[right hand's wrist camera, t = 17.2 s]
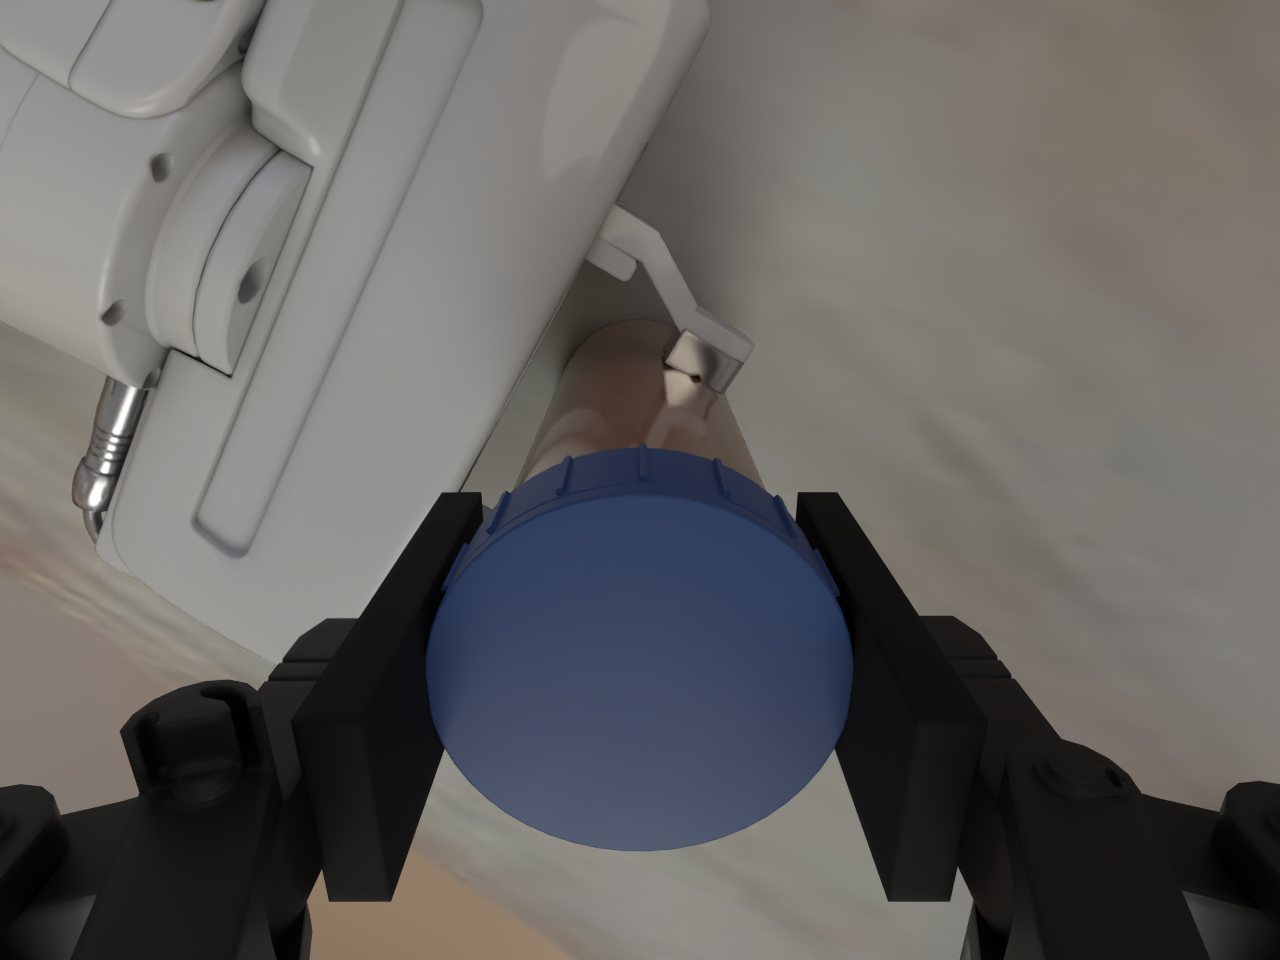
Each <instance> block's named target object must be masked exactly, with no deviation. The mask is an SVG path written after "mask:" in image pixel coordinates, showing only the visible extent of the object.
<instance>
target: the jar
mask: <svg viewBox="0 0 1280 960" xmlns="http://www.w3.org/2000/svg"><path fill="white" fill-rule="evenodd" d="M674 329H675V327H673V326H671V325H668V324H666V323H663V322H659V321H655V320H647V319H632V320H625V321H620V322H617V323H613V324H610V325H608V326H606V327H604V328H601V329H600V330H598V331H596V332H595V333H593V334H592V335H591V336H589V337H588V338H587V339H586V340H584V341H583V343H582V344H581V345H580V346H579V347H578V348H577V349H576V351H575V352H574V353H573V355H572V356H571V358H570V360H569V362H568V363H567V365H566V368H565V370H564V372H563V375H562V377H561V379H560V382H559V384H558V386H557V389H556V391H555V393H554V396H553V398H552V400H551V403H550V405H549V407H548V410H547V412H546V414H545V417H544V419H543V421H542V424H541V426H540V428H539V431H538V433H537V435H536V438H535V440H534V442H533V445H532V447H531V449H530V452H529V454H528V456H527V459H526V461H525V463H524V466H523V468H522V470H521V473H520V475H519V477H518V480H517V482H516V484H515V487H514V489H513V490H515V489H516V488H517V487H519V486H520V485H522V484H523V483H524V482H526V481H527V480H529V479H530V478H531V477H533V476H535V475H537V474H539V473H541V472H543V471H545V470H546V469H548V468H550V467H552V466H554V465H557V464H559V463H562V462H563V460H564V457H566V456H569V455H571V457H572V459H573V458H575V457H578V456H582V455H586V454H591V453H595V452H599V451H603V450H612V449H622V448H639V444H647V448H660V449H667V450H674V451H681V452H685V453H689V454H693V455H696V456H700V457H704V458H707V459H710V460H712V461H713V460H714V458H715V457H716V458H719V459H721V461H722V464H723V465H724V466H727V467H729V468H731V469H733V470H735V471H737V472H739V473H740V474H742V475H744V476H745V477H747V478H749V479H751V480H752V481H754V482H755V483H756V484H758V485H759V486H760V487H762V488H763V489H764V490H765V491H766V489H765V487H764V484H763V482H762V480H761V477H760V475H759V473H758V470H757V468H756V466H755V463H754V461H753V459H752V456H751V454H750V452H749V449H748V447H747V445H746V442H745V440H744V438H743V435H742V433H741V431H740V428H739V426H738V424H737V421H736V419H735V417H734V414H733V412H732V410H731V407H730V405H729V403H728V400H727V398H726V396H725V393H724V394H718V393H716V392H714V391H712V390H711V389H710V388H708V387H707V386H706V385H704V384H703V383H702V382H701V380H700V377H699V375H694V376H689V375H688V374H685V373H683V372H680V371H678V370H677V369H675V368H673V367H672V366H670V365H668V364H667V363H665V359H664V356H665V354H664V353H663V348H664V346H665V344H666V342H667V341H668V339H669V337H670V336H671V334H672V332H673V330H674Z"/></svg>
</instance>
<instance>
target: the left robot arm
mask: <svg viewBox="0 0 1280 960" xmlns="http://www.w3.org/2000/svg"><path fill="white" fill-rule="evenodd" d="M710 24H711V9H710V4H709V0H0V321H1V322H3V323H5V324H7V325H9V326H11V327H13V328H15V329H17V330H19V331H21V332H23V333H25V334H27V335H29V336H31V337H33V338H35V339H36V340H38V341H40V342H42V343H44V344H46V345H48V346H50V347H52V348H54V349H56V350H58V351H60V352H62V353H64V354H66V355H68V356H70V357H72V358H74V359H76V360H78V361H80V362H82V363H84V364H86V365H88V366H90V367H92V368H94V369H96V370H98V371H100V372H102V373H104V374H106V375H107V378H106V380H105V384H104V387H103V390H102V393H101V396H100V399H99V402H98V405H97V409H96V414H95V418H94V425H93V432H92V437H91V441H90V445H89V448H88V451H87V453H86V456H84V457H83V458H82V459H81V461H80V463H79V465H78V467H77V469H76V472H75V475H74V479H73V483H72V501H73V503H74V504H75V505H76V506H78V507H79V508H81V509H83V517H84V522H85V525H86V528H87V531H88V533H89V535H90V537H91V539H92V541H93V542H94V544H95V551H96V553H97V555H98V556H99V557H100V558H101V559H102V560H104V561H105V562H106V563H108V564H109V565H110V566H112V567H114V568H115V569H117V570H119V571H121V572H123V573H126V574H128V575H130V576H132V577H134V578H137V579H138V580H139V581H141V582H142V583H143V584H144V585H145V586H147V587H148V588H149V589H150V590H152V591H153V592H155V593H156V594H157V595H159V596H160V597H162V598H163V599H164V600H166V601H167V602H169V603H170V604H172V605H173V606H175V607H176V608H178V609H180V610H181V611H183V612H184V613H186V614H187V615H189V616H191V617H192V618H194V619H195V620H197V621H199V622H200V623H202V624H204V625H205V626H207V627H209V628H210V629H212V630H214V631H215V632H217V633H219V634H220V635H222V636H224V637H225V638H227V639H229V640H230V641H232V642H234V643H236V644H237V645H239V646H241V647H243V648H244V649H246V650H248V651H250V652H252V653H254V654H255V655H257V656H259V657H261V658H263V659H265V660H267V661H268V662H270V663H272V664H274V665H276V666H277V665H278V664H279V663H282V661H283V660H282V659H283V657H284V656H285V655H286V653H287V652H288V651H289V649H290V648H291V647H292V645H293V644H294V643H295V642H296V640H297V639H298V638H299V637H300V636H301V635H303V634H304V633H306V632H307V631H309V630H310V629H311V628H313V627H314V626H316V625H317V624H319V623H320V622H322V621H323V620H325V619H326V618H359V617H360V615H361V614H362V612H363V611H364V609H365V608H366V606H367V605H368V603H369V602H370V600H371V599H372V597H373V596H374V594H375V593H376V591H377V590H378V588H379V586H380V585H381V583H382V582H383V580H384V579H385V577H386V576H387V574H388V573H389V571H390V570H391V568H392V567H393V565H394V564H395V562H396V561H397V559H398V558H399V556H400V555H401V553H402V552H403V550H404V549H405V547H406V546H407V544H408V543H409V541H410V540H411V538H412V537H413V535H414V534H415V532H416V531H417V529H418V528H419V526H420V525H421V523H422V522H423V520H424V519H425V517H426V516H427V514H428V512H429V511H430V509H431V508H432V506H433V505H434V503H435V502H436V500H437V499H438V497H439V496H440V494H441V493H442V492H460V491H461V490H462V488H463V486H464V484H465V482H466V480H467V478H468V477H469V475H470V473H471V471H472V469H473V467H474V466H475V464H476V462H477V460H478V458H479V456H480V454H481V453H482V451H483V449H484V447H485V445H486V443H487V442H488V440H489V438H490V436H491V434H492V432H493V430H494V429H495V427H496V425H497V423H498V421H499V419H500V418H501V416H502V414H503V412H504V410H505V408H506V406H507V405H508V403H509V401H510V399H511V397H512V395H513V394H514V392H515V390H516V388H517V386H518V384H519V382H520V381H521V379H522V377H523V375H524V373H525V371H526V370H527V368H528V366H529V364H530V362H531V360H532V358H533V357H534V355H535V353H536V351H537V349H538V347H539V346H540V344H541V342H542V340H543V338H544V336H545V334H546V333H547V331H548V329H549V327H550V325H551V323H552V322H553V320H554V318H555V316H556V314H557V312H558V310H559V309H560V307H561V305H562V303H563V301H564V299H565V298H566V296H567V294H568V292H569V290H570V288H571V286H572V285H573V283H574V281H575V279H576V277H577V275H578V274H579V272H580V270H581V268H582V266H583V264H584V262H585V261H586V260H587V261H589V262H590V263H592V264H594V265H595V266H597V267H599V268H600V269H602V270H604V271H606V272H607V273H609V274H611V275H612V276H614V277H616V278H617V279H619V280H621V281H622V282H625V281H628V280H630V279H631V277H632V275H633V273H634V272H635V270H636V268H637V261H639V262H641V263H642V265H643V267H644V268H645V270H646V272H647V274H648V276H649V277H650V279H651V281H652V283H653V285H654V286H655V288H656V290H657V292H658V294H659V295H660V297H661V299H662V301H663V303H664V304H665V306H666V308H667V310H668V312H669V314H670V315H671V317H672V319H673V321H674V323H675V324H676V327H675V329H674V330H673V332H672V334H671V336H670V337H669V339H668V341H667V342H666V344H665V346H664V348H663V353H664V354H665V356H664V359H665V363H667V364H668V365H670V366H672V367H673V368H675V369H677V370H678V371H680V372H683V373H685V374H688V375H689V376H694V375H699V377H700V380H701V382H702V383H703V384H704V385H706V386H707V387H708V388H710V389H711V390H712V391H714V392H716V393H718V394H724V393H725V391H726V390H727V388H728V387H729V385H730V384H731V382H732V381H733V379H734V378H735V376H736V375H737V373H738V372H739V370H740V369H741V367H742V366H743V364H744V362H745V361H746V359H747V358H748V356H749V355H750V353H751V352H752V350H753V349H754V347H755V345H754V344H753V343H752V341H751V340H750V339H749V338H748V337H747V336H745V335H744V334H743V333H741V332H740V331H739V330H737V329H736V328H734V327H733V326H731V325H729V324H728V323H726V322H724V321H723V320H721V319H720V318H718V317H716V316H715V315H713V314H711V313H710V312H708V311H707V310H705V309H703V308H702V307H700V306H698V305H697V303H696V301H695V299H694V297H693V296H692V294H691V292H690V290H689V288H688V286H687V284H686V282H685V281H684V279H683V277H682V275H681V273H680V271H679V269H678V267H677V266H676V264H675V262H674V260H673V258H672V256H671V254H670V252H669V251H668V249H667V247H666V245H665V243H664V241H663V239H662V237H661V236H660V234H659V232H658V230H657V228H656V227H654V226H653V225H651V224H649V223H648V222H646V221H645V220H643V219H642V218H640V217H638V216H637V215H635V214H634V213H632V212H630V211H629V210H627V209H626V208H624V207H622V206H621V205H619V204H618V203H617V201H618V200H619V198H620V196H621V194H622V192H623V190H624V189H625V187H626V185H627V183H628V181H629V179H630V177H631V176H632V174H633V172H634V170H635V168H636V166H637V165H638V163H639V161H640V159H641V157H642V155H643V153H644V152H645V150H646V148H647V146H648V144H649V142H650V141H651V139H652V137H653V135H654V133H655V131H656V129H657V128H658V126H659V124H660V122H661V120H662V118H663V117H664V115H665V113H666V111H667V109H668V107H669V105H670V104H671V102H672V100H673V98H674V96H675V94H676V92H677V91H678V89H679V87H680V85H681V83H682V81H683V79H684V78H685V76H686V74H687V72H688V70H689V68H690V67H691V65H692V63H693V61H694V59H695V57H696V55H697V54H698V52H699V50H700V48H701V46H702V44H703V42H704V40H705V38H706V37H707V33H708V30H709V27H710ZM482 508H483V519H484V520H485V519H486V518H487V517H488V515H489V514H490V513H491V512H492V509H490V508H488V507H486V506H485V505H483V504H482ZM103 511H107V513H106V516H105V518H104V521H102V516H101V512H103Z"/></svg>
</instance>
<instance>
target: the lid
mask: <svg viewBox="0 0 1280 960" xmlns="http://www.w3.org/2000/svg"><path fill="white" fill-rule="evenodd" d="M441 590H443V591H445V592H446V594H445V595H444V597H443V599H442V601H441V603H440V606H439V608H438V611H437V613H436V616H435V619H434V621H433V624H432V626H431V629H430V634H429V639H428V643H427V648H426V655H425V668H426V677H427V685H428V693H429V701H430V708H431V715H432V720H433V723H434V726H435V728H436V730H437V733H438V735H439V737H440V740H441V742H442V744H443V746H444V747H445V749H446V751H447V752H448V754H449V756H450V757H451V759H452V761H453V762H454V764H455V765H456V766H457V767H458V769H459V770H460V771H461V772H462V774H463V775H464V776H465V777H466V778H467V780H468V781H469V782H470V783H471V784H472V785H473V786H474V787H475V788H476V789H477V790H478V791H479V792H480V793H482V794H483V795H484V796H485V797H486V798H487V799H488V800H490V801H491V802H492V803H494V804H495V805H496V806H498V807H499V808H500V809H502V810H503V811H504V812H506V813H507V814H509V815H511V816H512V817H514V818H516V819H518V820H519V821H521V822H523V823H524V824H526V825H528V826H530V827H533V828H535V829H537V830H539V831H542V832H544V833H546V834H548V835H551V836H554V837H557V838H560V839H563V840H567V841H570V842H573V843H577V844H582V845H586V846H591V847H596V848H602V849H611V850H620V851H657V850H668V849H677V848H682V847H687V846H693V845H698V844H702V843H705V842H709V841H712V840H716V839H719V838H722V837H725V836H727V835H730V834H732V833H735V832H737V831H740V830H742V829H745V828H747V827H748V826H750V825H752V824H754V823H756V822H758V821H760V820H761V819H763V818H765V817H767V816H768V815H770V814H771V813H773V812H774V811H776V810H777V809H779V808H780V807H781V806H783V805H784V804H786V803H787V802H788V801H789V800H791V799H792V798H793V797H794V796H795V795H796V794H797V793H798V792H800V791H801V790H802V789H803V788H804V787H805V786H806V785H807V784H808V783H809V782H810V780H811V779H812V778H813V777H814V776H815V775H816V774H817V772H818V771H819V770H820V769H821V768H822V766H823V765H824V763H825V762H826V760H827V759H828V757H829V756H830V754H831V753H832V751H833V750H834V748H835V745H836V743H837V741H838V739H839V737H840V735H841V733H842V731H843V729H844V726H845V723H846V720H847V715H848V708H849V701H850V693H851V685H852V677H853V668H854V654H853V648H852V642H851V636H850V633H849V630H848V627H847V624H846V621H845V618H844V615H843V612H842V610H841V608H840V606H839V604H838V602H837V600H836V597H838V596H840V592H839V590H838V588H837V586H836V584H835V582H834V580H833V578H832V576H831V574H830V572H829V570H828V568H827V566H826V564H825V562H824V560H823V558H822V556H821V554H820V552H819V550H818V549H814V550H812V548H811V546H810V545H809V543H808V541H807V539H806V537H805V535H804V533H803V531H802V530H801V529H800V527H799V526H798V524H797V523H796V522H795V520H794V519H793V518H792V516H791V515H790V513H789V512H788V511H787V509H786V506H785V504H784V502H783V500H782V498H781V497H780V496H779V495H776V496H775V497H773V496H772V495H771V494H769V493H768V492H767V491H765V490H764V489H763V488H762V487H760V486H759V485H758V484H756V483H755V482H754V481H752V480H751V479H749V478H747V477H745V476H744V475H742V474H740V473H739V472H737V471H735V470H733V469H731V468H729V467H727V466H724V465H723V464H722V461H721V459H719V458H716V457H715V458H714V460H713V461H712V460H710V459H707V458H704V457H700V456H696V455H693V454H689V453H685V452H681V451H674V450H667V449H660V448H647V444H639V448H622V449H612V450H603V451H599V452H595V453H591V454H586V455H582V456H578V457H575V458H573V459H572V457H571V455H569V456H566V457H564V460H563V462H562V463H559V464H557V465H554V466H552V467H550V468H548V469H546V470H545V471H543V472H541V473H539V474H537V475H535V476H533V477H531V478H530V479H529V480H527V481H526V482H524V483H523V484H522V485H520V486H519V487H517V488H516V489H515V490H513V491H512V492H511V493H509V492H508V491H505V492H504V493H503V494H502V495H501V498H500V500H499V502H498V504H497V506H496V507H495V508H494V509H493V510H492V512H491V513H490V514H489V515H488V517H487V518H486V519H485V520H484V522H483V523H482V524H481V525H480V527H479V529H478V530H477V532H476V534H475V535H474V537H473V539H472V541H471V542H470V544H469V545H468V544H465V543H464V544H463V546H462V548H461V550H460V552H459V554H458V556H457V558H456V560H455V562H454V564H453V566H452V568H451V570H450V572H449V574H448V576H447V578H446V580H445V582H444V584H443V586H442V588H441Z"/></svg>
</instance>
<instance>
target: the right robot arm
mask: <svg viewBox="0 0 1280 960" xmlns="http://www.w3.org/2000/svg"><path fill="white" fill-rule="evenodd" d="M483 522H484V519H483V508H482V496H481V492H442V493H441V494H440V496H439V497H438V499H437V500H436V502H435V503H434V505H433V506H432V508H431V509H430V511H429V512H428V514H427V516H426V517H425V519H424V520H423V522H422V523H421V525H420V526H419V528H418V529H417V531H416V532H415V534H414V535H413V537H412V538H411V540H410V541H409V543H408V544H407V546H406V547H405V549H404V550H403V552H402V553H401V555H400V556H399V558H398V559H397V561H396V562H395V564H394V565H393V567H392V568H391V570H390V571H389V573H388V574H387V576H386V577H385V579H384V580H383V582H382V583H381V585H380V586H379V588H378V590H377V591H376V593H375V594H374V596H373V597H372V599H371V600H370V602H369V603H368V605H367V606H366V608H365V609H364V611H363V612H362V614H361V615H360V617H359V618H326V619H325V620H323V621H322V622H320V623H319V624H317V625H316V626H314V627H313V628H311V629H310V630H309V631H307V632H306V633H304V634H303V635H301V636H300V637H299V638H298V639H297V640H296V642H295V643H294V644H293V645H292V647H291V648H290V649H289V651H288V652H287V653H286V655H285V656H284V657H283V659H282V660H283V661H282V663H279V664H278V665H277V666H276V668H275V669H274V670H273V672H272V673H271V674H270V675H269V679H268V681H265V682H264V683H263V685H262V686H261V687H260V688H259V690H258V691H256V690H255V689H254V688H253V687H251V686H250V685H249V684H248V683H243V682H238V681H234V680H216V681H204V682H200V683H197V684H193V685H189V686H185V687H181V688H178V689H176V690H174V691H172V692H170V693H167V694H165V695H163V696H161V697H159V698H156V699H154V700H153V701H151V702H150V703H148V704H147V705H146V706H144V707H143V708H141V709H140V710H139V711H137V712H136V713H134V714H133V715H132V716H131V717H130V719H129V720H128V721H127V722H126V724H125V725H124V726H123V727H122V729H121V730H120V734H121V737H122V740H123V743H124V746H125V749H126V752H127V755H128V759H129V762H130V765H131V768H132V771H133V774H134V777H135V780H136V783H137V787H138V790H139V795H138V797H135V798H132V799H128V800H125V801H121V802H117V803H112V804H108V805H104V806H99V807H95V808H91V809H86V810H82V811H77V812H73V813H69V814H64V815H61V814H60V812H59V809H58V807H57V804H56V801H55V799H54V796H53V795H52V794H51V793H49V792H48V791H47V790H45V789H44V788H43V787H41V786H32V785H23V784H19V785H13V786H7V787H2V788H0V960H309V958H310V948H311V938H312V926H311V919H310V913H309V909H308V904H307V899H308V897H309V895H310V893H311V891H312V889H313V887H314V884H315V882H316V880H317V878H318V876H319V874H320V872H321V870H322V871H323V875H324V880H325V885H326V889H327V894H328V899H329V901H330V902H378V901H379V902H383V901H384V902H386V901H387V902H390V901H391V900H392V897H393V894H394V891H395V889H396V886H397V883H398V880H399V877H400V874H401V871H402V869H403V866H404V863H405V860H406V857H407V854H408V852H409V849H410V846H411V843H412V840H413V837H414V834H415V832H416V829H417V826H418V823H419V820H420V817H421V815H422V812H423V809H424V806H425V803H426V800H427V797H428V795H429V792H430V789H431V786H432V783H433V780H434V777H435V775H436V772H437V769H438V766H439V763H440V760H441V758H442V755H443V752H444V749H445V747H444V746H443V744H442V742H441V740H440V737H439V735H438V733H437V730H436V728H435V726H434V723H433V720H432V715H431V708H430V701H429V693H428V685H427V677H426V668H425V655H426V648H427V643H428V639H429V634H430V629H431V626H432V624H433V621H434V619H435V616H436V613H437V611H438V608H439V606H440V603H441V601H442V599H443V597H444V595H445V594H446V592H445V591H443V590H441V588H442V586H443V584H444V582H445V580H446V578H447V576H448V574H449V572H450V570H451V568H452V566H453V564H454V562H455V560H456V558H457V556H458V554H459V552H460V550H461V548H462V546H463V544H464V543H465V544H468V545H469V544H470V542H471V541H472V539H473V537H474V535H475V534H476V532H477V530H478V529H479V527H480V525H481V524H482V523H483ZM796 523H797V524H798V526H799V527H800V529H801V530H802V531H803V533H804V535H805V537H806V539H807V541H808V543H809V545H810V546H811V548H812V550H814V549H818V550H819V552H820V554H821V556H822V558H823V560H824V562H825V564H826V566H827V568H828V570H829V572H830V574H831V576H832V578H833V580H834V582H835V584H836V586H837V588H838V590H839V592H840V596H838V597H836V600H837V602H838V604H839V606H840V608H841V610H842V612H843V615H844V618H845V621H846V624H847V627H848V630H849V633H850V636H851V642H852V648H853V654H854V668H853V677H852V685H851V693H850V701H849V708H848V715H847V720H846V723H845V726H844V729H843V731H842V733H841V735H840V737H839V739H838V741H837V743H836V745H835V751H836V754H837V757H838V760H839V763H840V765H841V768H842V771H843V774H844V777H845V780H846V782H847V785H848V788H849V791H850V794H851V797H852V800H853V802H854V805H855V808H856V811H857V814H858V817H859V820H860V822H861V825H862V828H863V831H864V834H865V837H866V840H867V842H868V845H869V848H870V851H871V854H872V857H873V859H874V862H875V865H876V868H877V871H878V874H879V877H880V879H881V882H882V885H883V888H884V891H885V894H886V897H887V899H888V902H950V900H951V895H952V890H953V886H954V881H955V876H956V872H957V867H958V868H959V870H960V872H961V874H962V876H963V878H964V880H965V882H966V885H967V887H968V889H969V891H970V893H971V895H972V897H973V899H974V900H973V904H972V909H971V913H970V917H969V922H968V926H967V930H966V935H965V939H964V943H963V948H962V952H961V957H960V960H1280V784H1275V783H1269V782H1263V781H1254V782H1245V783H1238V784H1237V785H1236V786H1234V787H1233V788H1232V789H1230V790H1229V791H1228V792H1227V793H1226V796H1225V798H1224V801H1223V804H1222V806H1221V809H1220V812H1217V811H1212V810H1208V809H1203V808H1199V807H1195V806H1190V805H1186V804H1181V803H1177V802H1172V801H1168V800H1164V799H1159V798H1155V797H1152V796H1148V795H1145V794H1142V793H1141V792H1140V790H1139V789H1138V787H1137V786H1136V785H1135V783H1134V782H1133V780H1132V779H1131V777H1130V776H1129V774H1127V773H1126V772H1125V771H1124V770H1122V769H1121V768H1120V767H1119V766H1118V765H1116V764H1115V763H1114V762H1113V761H1111V760H1110V759H1109V758H1107V757H1105V756H1103V755H1101V754H1099V753H1097V752H1095V751H1094V750H1092V749H1090V748H1088V747H1086V746H1083V745H1080V744H1076V743H1073V742H1070V741H1066V740H1063V739H1061V738H1060V737H1059V735H1058V734H1057V733H1056V731H1055V730H1054V729H1053V728H1052V726H1051V725H1050V724H1049V722H1048V721H1047V720H1046V719H1045V717H1044V716H1043V715H1042V713H1041V712H1040V711H1039V709H1038V708H1037V707H1036V706H1035V704H1034V703H1033V702H1032V700H1031V699H1030V698H1029V697H1028V695H1027V694H1026V693H1025V691H1024V690H1023V689H1022V687H1021V686H1020V685H1019V684H1018V682H1017V681H1016V680H1015V679H1012V678H1011V673H1010V672H1009V671H1008V669H1007V668H1006V667H1005V665H1004V664H1003V663H1002V662H1001V660H997V655H996V654H995V653H994V651H993V650H992V649H991V647H990V646H989V645H988V644H987V642H986V641H985V640H984V638H983V637H982V636H981V634H979V633H978V632H976V631H975V630H973V629H972V628H970V627H969V626H967V625H966V624H964V623H963V622H961V621H960V620H958V619H957V618H955V617H954V616H919V615H918V613H917V612H916V610H915V609H914V607H913V606H912V604H911V603H910V601H909V600H908V598H907V597H906V595H905V594H904V592H903V591H902V589H901V588H900V586H899V585H898V583H897V582H896V580H895V579H894V577H893V576H892V574H891V573H890V571H889V570H888V568H887V567H886V565H885V564H884V562H883V561H882V559H881V558H880V556H879V555H878V553H877V551H876V550H875V548H874V547H873V545H872V544H871V542H870V541H869V539H868V538H867V536H866V535H865V533H864V532H863V530H862V529H861V527H860V526H859V524H858V523H857V521H856V520H855V518H854V517H853V515H852V514H851V512H850V511H849V509H848V508H847V506H846V505H845V503H844V502H843V500H842V499H841V497H840V496H839V494H838V493H837V492H798V498H797V510H796Z"/></svg>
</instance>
